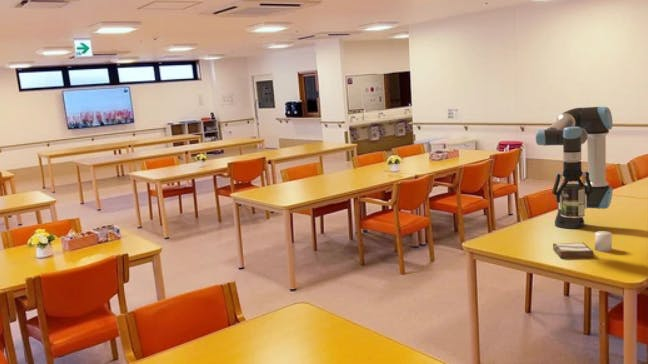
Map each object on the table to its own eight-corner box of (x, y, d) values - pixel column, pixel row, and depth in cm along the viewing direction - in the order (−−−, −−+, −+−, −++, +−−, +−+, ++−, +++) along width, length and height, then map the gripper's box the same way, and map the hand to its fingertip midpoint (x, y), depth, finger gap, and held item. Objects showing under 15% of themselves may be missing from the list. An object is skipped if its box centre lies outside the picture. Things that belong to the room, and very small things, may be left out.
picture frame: (553, 249, 265) (553, 243, 264) (583, 248, 262) (583, 242, 262) (560, 258, 251) (560, 251, 250) (593, 257, 249) (593, 250, 248)
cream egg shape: (593, 247, 263) (593, 231, 262) (608, 247, 262) (608, 230, 260) (597, 252, 256) (597, 235, 255) (613, 251, 255) (614, 234, 254)
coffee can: (567, 219, 248) (567, 188, 246) (556, 214, 258) (556, 184, 256) (589, 216, 249) (589, 186, 246) (577, 211, 259) (577, 182, 257)
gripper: (548, 163, 248) (548, 211, 251) (601, 160, 244) (601, 209, 247) (544, 161, 255) (544, 208, 259) (596, 158, 251) (596, 205, 255)
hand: (572, 208), depth 253 cm, fingers closed on coffee can, 10 cm apart
